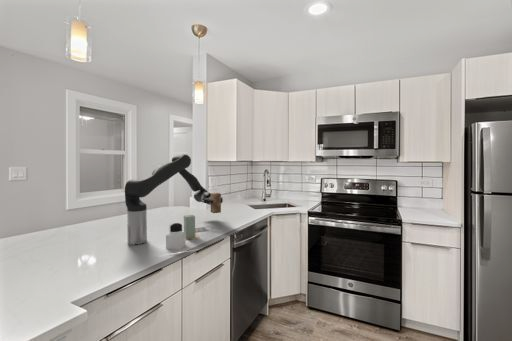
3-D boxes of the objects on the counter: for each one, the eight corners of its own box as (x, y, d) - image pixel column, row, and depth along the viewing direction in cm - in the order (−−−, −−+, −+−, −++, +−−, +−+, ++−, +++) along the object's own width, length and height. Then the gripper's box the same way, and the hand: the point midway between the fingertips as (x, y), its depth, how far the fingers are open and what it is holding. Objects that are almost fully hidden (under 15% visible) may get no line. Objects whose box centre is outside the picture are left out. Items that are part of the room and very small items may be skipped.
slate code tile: (193, 234, 151) (193, 233, 151) (188, 230, 160) (188, 229, 160) (209, 231, 156) (209, 230, 156) (204, 228, 165) (204, 227, 165)
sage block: (186, 239, 140) (186, 217, 139) (183, 236, 144) (183, 215, 144) (195, 237, 142) (195, 216, 142) (192, 235, 147) (192, 214, 146)
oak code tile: (182, 242, 137) (182, 241, 137) (178, 237, 145) (178, 236, 145) (200, 239, 141) (200, 238, 141) (195, 234, 150) (195, 233, 150)
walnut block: (213, 213, 160) (213, 194, 159) (210, 211, 164) (210, 193, 164) (220, 212, 162) (220, 193, 162) (218, 211, 167) (218, 192, 166)
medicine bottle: (185, 245, 131) (185, 222, 131) (179, 250, 124) (179, 225, 124) (172, 245, 132) (171, 221, 131) (165, 249, 125) (165, 225, 124)
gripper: (198, 193, 172) (206, 196, 157) (218, 192, 179) (227, 195, 164) (198, 204, 172) (206, 208, 157) (218, 202, 179) (227, 206, 164)
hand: (217, 201), depth 161 cm, fingers closed on walnut block, 5 cm apart
